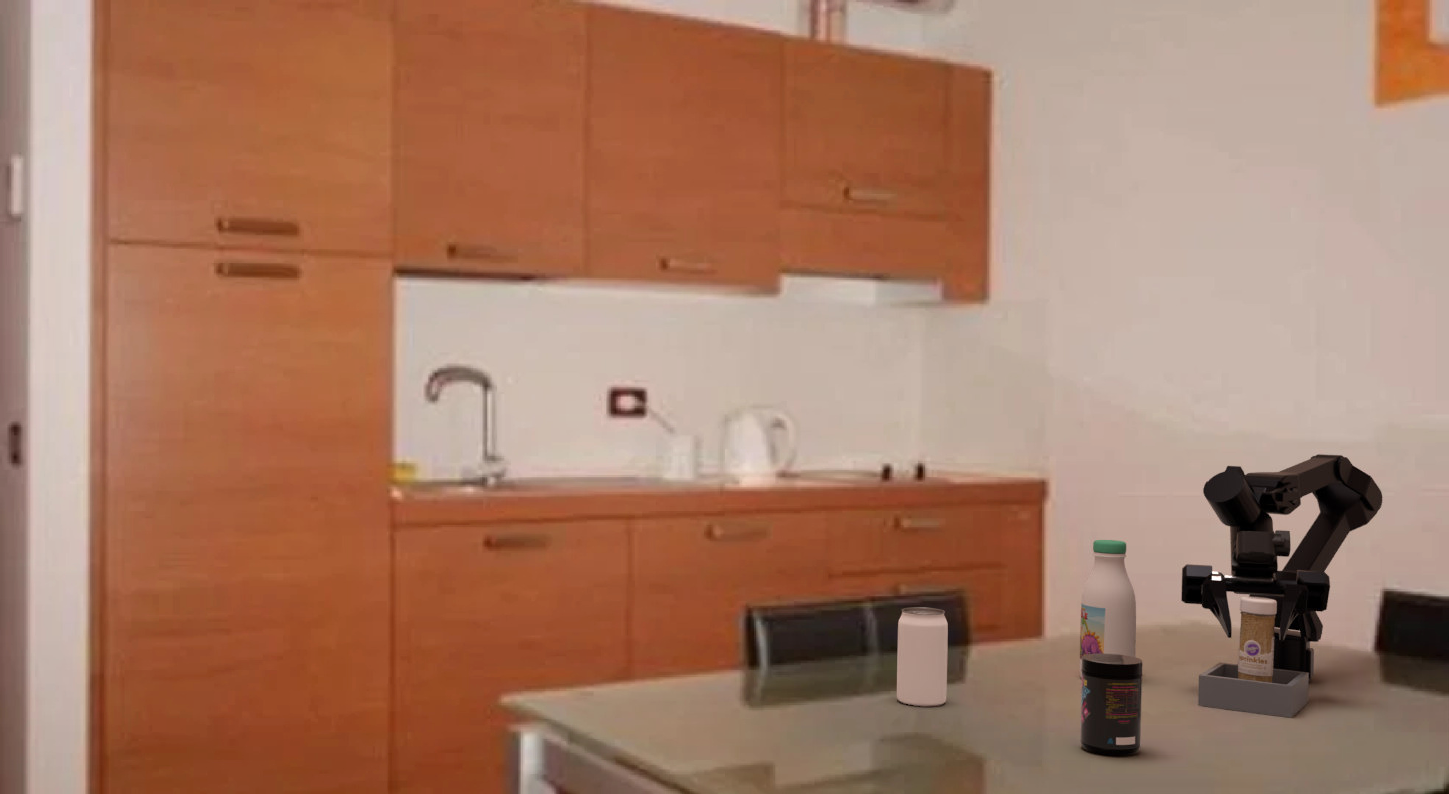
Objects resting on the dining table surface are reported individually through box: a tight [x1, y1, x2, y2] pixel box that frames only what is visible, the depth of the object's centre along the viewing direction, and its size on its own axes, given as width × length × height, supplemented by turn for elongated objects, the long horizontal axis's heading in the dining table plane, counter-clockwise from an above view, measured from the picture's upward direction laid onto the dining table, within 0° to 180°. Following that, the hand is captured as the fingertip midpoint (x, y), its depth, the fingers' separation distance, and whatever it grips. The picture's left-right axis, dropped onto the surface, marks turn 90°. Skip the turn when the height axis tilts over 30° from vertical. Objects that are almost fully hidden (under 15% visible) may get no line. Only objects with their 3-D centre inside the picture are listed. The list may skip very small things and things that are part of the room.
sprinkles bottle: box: [1237, 596, 1277, 683], centre depth 184 cm, size 5×5×13 cm
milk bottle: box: [1079, 539, 1137, 679], centre depth 199 cm, size 8×8×20 cm
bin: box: [1197, 661, 1310, 719], centre depth 184 cm, size 12×12×4 cm
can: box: [896, 606, 949, 708], centre depth 181 cm, size 6×6×12 cm
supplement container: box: [1079, 654, 1143, 757], centre depth 157 cm, size 7×7×10 cm
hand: (1255, 637), depth 182 cm, fingers open, 6 cm apart
